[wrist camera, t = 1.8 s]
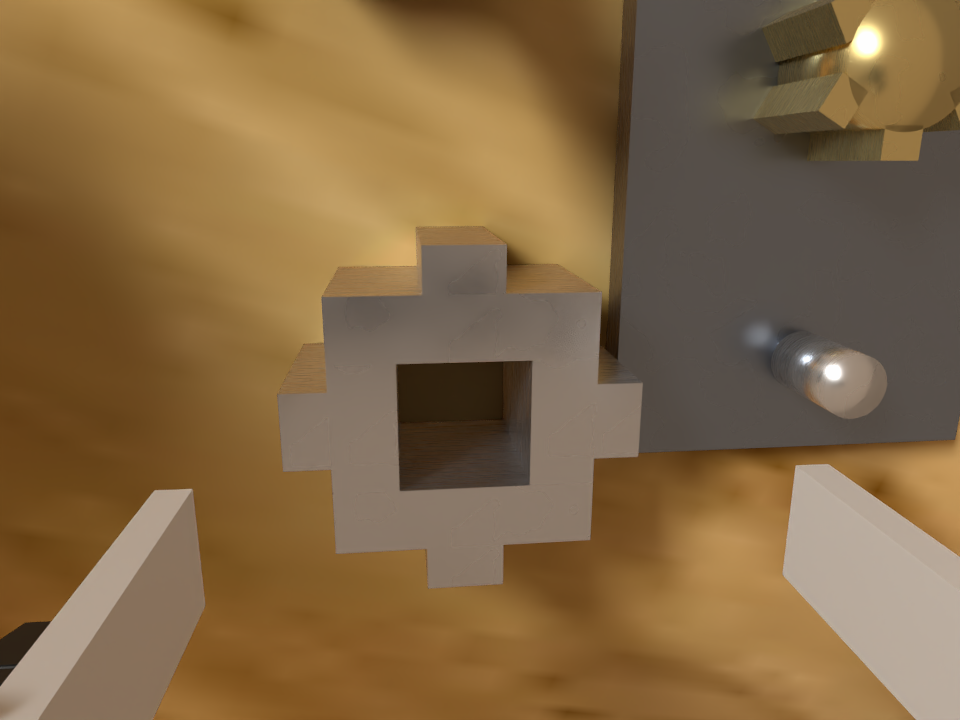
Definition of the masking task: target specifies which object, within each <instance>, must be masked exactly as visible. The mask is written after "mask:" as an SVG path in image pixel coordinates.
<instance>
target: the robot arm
mask: <svg viewBox="0 0 960 720" xmlns="http://www.w3.org/2000/svg"><path fill="white" fill-rule="evenodd" d="M783 576H784V577H785V578H786V579H787V580H788V581H789V582H790V583H791V584H792V586H793V587H794V588H795V589H796V590H797V591H798V592H799V593H800V594H801V595H802V596H803V597H804V599H805V600H806V601H807V602H808V603H809V604H810V605H811V606H812V607H813V608H814V609H815V611H816V612H817V613H818V614H819V615H820V616H821V617H822V618H823V619H824V620H825V621H826V622H827V624H828V625H829V626H830V627H831V628H832V629H833V630H834V631H835V632H836V633H837V634H838V636H839V637H840V638H841V639H842V640H843V641H844V642H845V643H846V644H847V645H848V646H849V647H850V649H851V650H852V651H853V652H854V653H855V654H856V655H857V656H858V657H859V658H860V659H861V661H862V662H863V663H864V664H865V665H866V666H867V667H868V668H869V669H870V670H871V671H872V672H873V674H874V675H875V676H876V677H877V678H878V679H879V680H880V681H881V682H882V683H883V684H884V686H885V687H886V688H887V689H888V690H889V691H890V692H891V693H892V694H893V695H894V696H895V697H896V699H897V700H898V701H899V702H900V703H901V704H902V705H903V706H904V707H905V708H906V709H907V711H908V712H909V713H910V714H911V715H912V716H913V717H914V718H915V719H916V720H960V557H959V556H958V555H956V554H955V553H953V552H952V551H951V550H949V549H948V548H946V547H945V546H944V545H942V544H941V543H939V542H938V541H936V540H935V539H934V538H932V537H931V536H929V535H928V534H927V533H925V532H924V531H922V530H921V529H919V528H918V527H917V526H915V525H914V524H912V523H911V522H910V521H908V520H907V519H905V518H904V517H902V516H901V515H900V514H898V513H897V512H895V511H894V510H893V509H891V508H890V507H888V506H887V505H885V504H884V503H883V502H881V501H880V500H878V499H877V498H875V497H874V496H873V495H871V494H870V493H868V492H867V491H866V490H864V489H863V488H861V487H860V486H858V485H857V484H856V483H854V482H853V481H851V480H850V479H849V478H847V477H846V476H844V475H843V474H841V473H840V472H839V471H837V470H836V469H834V468H833V467H832V466H830V465H829V464H819V465H796V468H795V476H794V484H793V493H792V501H791V509H790V517H789V525H788V534H787V542H786V550H785V558H784V567H783ZM205 606H206V605H205V596H204V587H203V578H202V569H201V560H200V551H199V542H198V533H197V523H196V514H195V505H194V496H193V489H176V490H154V492H153V493H152V494H151V495H150V497H149V498H148V499H147V501H146V502H145V503H144V504H143V506H142V507H141V508H140V509H139V511H138V512H137V513H136V515H135V516H134V517H133V518H132V520H131V521H130V522H129V523H128V525H127V526H126V527H125V528H124V530H123V531H122V532H121V534H120V535H119V536H118V537H117V539H116V540H115V541H114V542H113V544H112V545H111V546H110V548H109V549H108V550H107V551H106V553H105V554H104V555H103V556H102V558H101V559H100V560H99V562H98V563H97V564H96V565H95V567H94V568H93V569H92V570H91V572H90V573H89V574H88V576H87V577H86V578H85V579H84V581H83V582H82V583H81V584H80V586H79V587H78V588H77V590H76V591H75V592H74V593H73V595H72V596H71V597H70V598H69V600H68V601H67V602H66V604H65V605H64V606H63V607H62V609H61V610H60V611H59V612H58V614H57V615H56V616H55V618H54V619H53V620H52V621H48V622H30V623H24V624H23V625H21V626H20V627H18V628H17V629H15V630H14V631H12V632H11V633H9V634H8V635H6V636H5V637H3V638H2V639H0V720H153V718H154V716H155V714H156V711H157V709H158V707H159V705H160V703H161V701H162V698H163V696H164V694H165V692H166V690H167V688H168V685H169V683H170V681H171V679H172V677H173V675H174V673H175V670H176V668H177V666H178V664H179V662H180V660H181V657H182V655H183V653H184V651H185V649H186V647H187V644H188V642H189V640H190V638H191V636H192V634H193V631H194V629H195V627H196V625H197V623H198V621H199V618H200V616H201V614H202V612H203V610H204V608H205Z"/></svg>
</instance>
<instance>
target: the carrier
mask: <svg viewBox="0 0 960 720" xmlns="http://www.w3.org/2000/svg"><path fill="white" fill-rule="evenodd" d="M606 350H607V351H608V352H609V353H610V354H611V355H612V356H613V357H614V358H616V359H617V360H618V361H619V362H620V363H621V364H622V365H623V366H625V367H626V368H627V369H628V370H629V371H630V372H631V373H632V374H633V375H635V376H636V377H637V378H638V379H639V380H640V381H641V382H642V383H643V388H642V404H641V419H640V435H639V451H638V453H648V452H672V451H695V450H719V449H743V448H767V447H791V446H815V445H839V444H863V443H887V442H911V441H935V440H955V437H956V432H957V427H958V421H959V416H960V0H624V5H623V25H622V45H621V65H620V86H619V106H618V126H617V147H616V167H615V187H614V207H613V228H612V248H611V268H610V289H609V309H608V329H607V349H606Z"/></svg>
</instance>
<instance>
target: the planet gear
mask: <svg viewBox="0 0 960 720" xmlns="http://www.w3.org/2000/svg"><path fill="white" fill-rule="evenodd" d="M416 247H417V266H392V267H338V269H337V271H336V272H335V274H334V276H333V278H332V279H331V281H330V283H329V285H328V286H327V288H326V290H325V292H324V294H323V295H322V315H323V332H324V344H303V346H302V348H301V350H300V352H299V354H298V356H297V357H296V359H295V361H294V363H293V365H292V367H291V369H290V371H289V373H288V375H287V377H286V379H285V381H284V382H283V384H282V386H281V388H280V390H279V392H278V394H277V397H278V411H279V424H280V437H281V450H282V463H283V472H289V471H313V470H331V474H332V491H333V509H334V527H335V544H336V554H344V553H362V552H380V551H399V550H417V549H425V553H426V568H427V582H428V589H429V588H445V587H462V586H478V585H495V584H503V545H509V544H527V543H545V542H564V541H582V540H590V537H591V515H592V494H593V472H594V459H596V458H620V457H638V451H639V435H640V419H641V404H642V388H643V383H642V382H641V381H640V380H639V379H638V378H637V377H636V376H635V375H633V374H632V373H631V372H630V371H629V370H628V369H627V368H626V367H625V366H623V365H622V364H621V363H620V362H619V361H618V360H617V359H616V358H614V357H613V356H612V355H611V354H610V353H609V352H608V351H607V350H606V349H604V348H603V347H602V346H601V345H600V322H601V301H602V292H601V291H599V290H598V289H596V288H595V287H593V286H591V285H590V284H588V283H587V282H585V281H584V280H582V279H580V278H579V277H577V276H576V275H574V274H572V273H571V272H569V271H568V270H566V269H565V268H563V267H561V266H560V265H558V264H543V265H507V244H506V243H504V242H503V241H502V240H500V239H499V238H498V237H496V236H495V235H494V234H492V233H491V232H490V231H488V230H487V229H486V228H484V227H416ZM496 361H503V419H497V420H469V421H441V422H413V423H399V397H398V364H423V363H459V362H496Z"/></svg>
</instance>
